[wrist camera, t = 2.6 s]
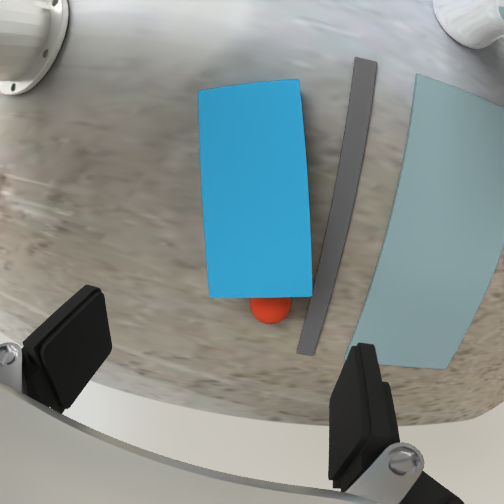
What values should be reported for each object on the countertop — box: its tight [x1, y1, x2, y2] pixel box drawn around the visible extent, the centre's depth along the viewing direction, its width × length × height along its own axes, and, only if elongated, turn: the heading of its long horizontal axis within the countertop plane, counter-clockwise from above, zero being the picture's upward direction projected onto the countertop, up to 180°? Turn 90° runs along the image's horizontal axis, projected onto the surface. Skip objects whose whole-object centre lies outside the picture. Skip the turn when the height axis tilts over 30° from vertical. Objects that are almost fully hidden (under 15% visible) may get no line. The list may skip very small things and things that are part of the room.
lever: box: [198, 79, 312, 324], centre depth 24 cm, size 7×7×18 cm
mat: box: [344, 74, 504, 369], centre depth 23 cm, size 26×12×1 cm, turn 173°
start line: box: [297, 57, 377, 356], centre depth 24 cm, size 26×2×1 cm, turn 173°
